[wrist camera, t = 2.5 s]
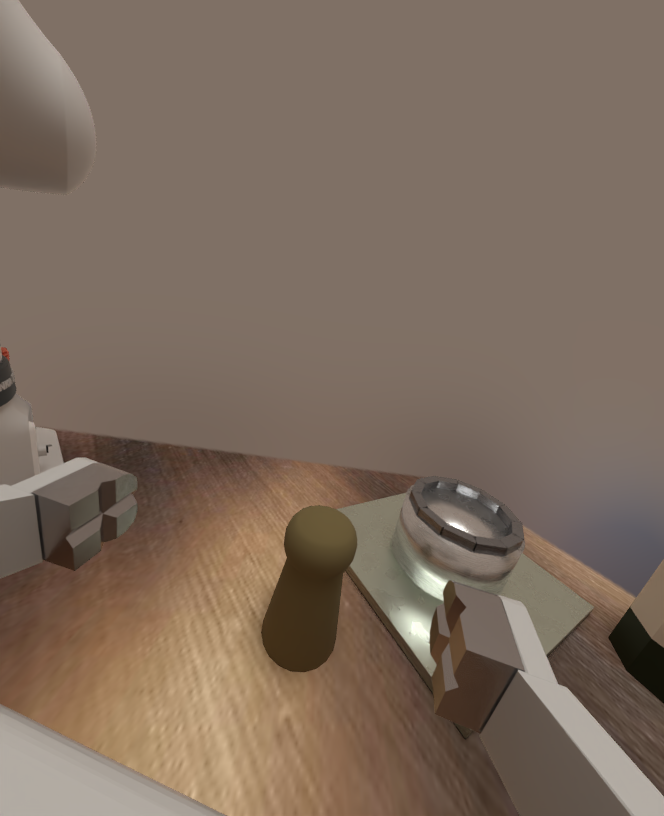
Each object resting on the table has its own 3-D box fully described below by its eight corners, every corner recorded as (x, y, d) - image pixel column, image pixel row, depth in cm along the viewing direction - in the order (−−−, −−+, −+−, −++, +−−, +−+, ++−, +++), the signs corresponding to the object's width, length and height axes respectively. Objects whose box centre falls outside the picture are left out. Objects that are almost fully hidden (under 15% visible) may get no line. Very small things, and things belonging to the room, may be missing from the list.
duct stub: (311, 521, 38) (323, 464, 35) (431, 491, 50) (447, 447, 47) (465, 738, 21) (511, 659, 18) (589, 614, 33) (628, 555, 31)
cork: (273, 589, 28) (293, 486, 25) (339, 605, 28) (368, 504, 25) (250, 660, 23) (271, 540, 19) (331, 681, 23) (368, 564, 19)
